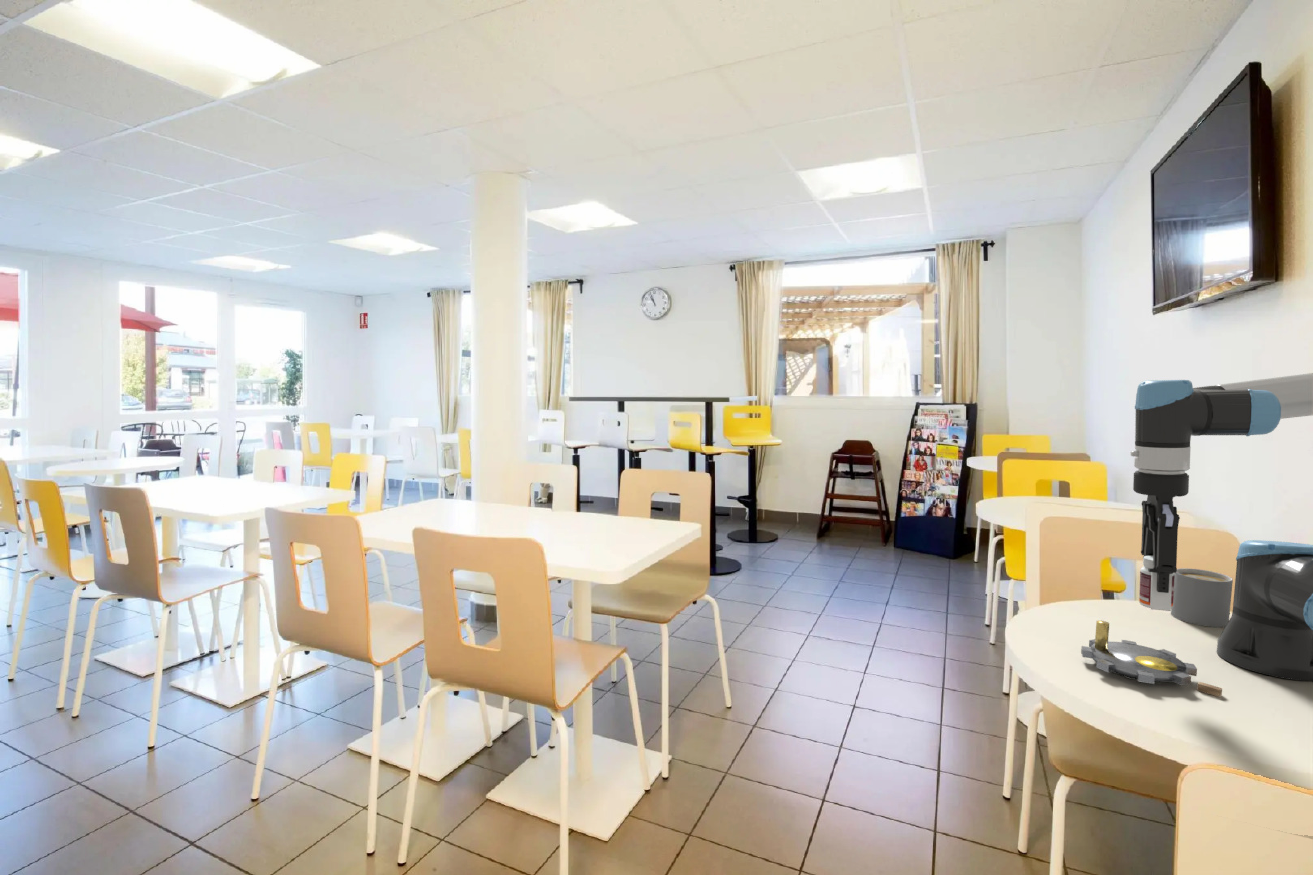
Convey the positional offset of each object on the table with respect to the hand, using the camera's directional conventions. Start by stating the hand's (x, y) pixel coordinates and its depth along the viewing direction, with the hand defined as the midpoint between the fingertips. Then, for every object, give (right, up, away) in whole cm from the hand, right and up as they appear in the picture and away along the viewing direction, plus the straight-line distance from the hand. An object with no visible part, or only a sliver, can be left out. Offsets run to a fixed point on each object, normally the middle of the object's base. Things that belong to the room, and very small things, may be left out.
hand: (1156, 604), depth 115 cm
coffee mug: (+35, -11, +34) cm, 50 cm away
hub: (0, -13, +5) cm, 14 cm away
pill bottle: (0, -1, 0) cm, 1 cm away
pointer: (+7, -14, -3) cm, 16 cm away
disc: (0, -12, +5) cm, 13 cm away
